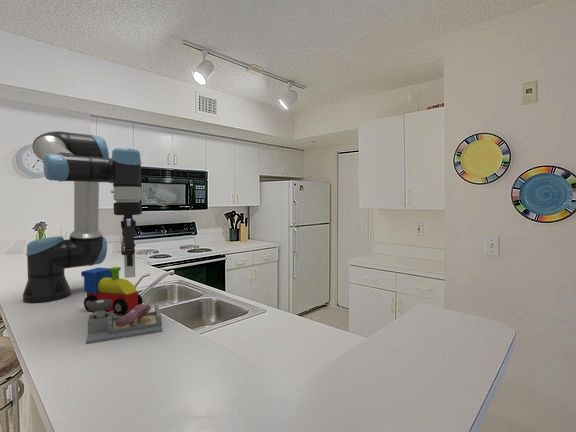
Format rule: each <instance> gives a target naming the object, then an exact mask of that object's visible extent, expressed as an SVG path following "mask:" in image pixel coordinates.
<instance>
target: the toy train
mask: <svg viewBox="0 0 576 432" xmlns="http://www.w3.org/2000/svg"><path fill="white" fill-rule="evenodd" d="M121 269H122V267H121V266H112V267H110V268H109V267H96V268H91V269H87V270H82V271H81V273H80V275H81V277H83V283H84V284H83V287H84V289H83V290H84V291H83V292H84V293H86V297H85V298H84V301H83V306H84V309H85V310H86V312H89V313H90V312H91V313H93V312H94V311H90V310H88V303H89V302H91V301H95V300H100V299H110V300H112V307H111V308H109V309H106V310H105V311H113V313H115V314H116V315H118V316H124V315H126V314H127V313H128V312H129V311H131V310H132V309H133V308H134V307H135V306H137V305H139V304H144V303H143V297H142V296H141V295H140V294H139V292H138V290H137V289H136V287H135V285H134V284H133V283H132V282H131V281H129V280H128V279H127V278H120V271H121Z"/></svg>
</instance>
